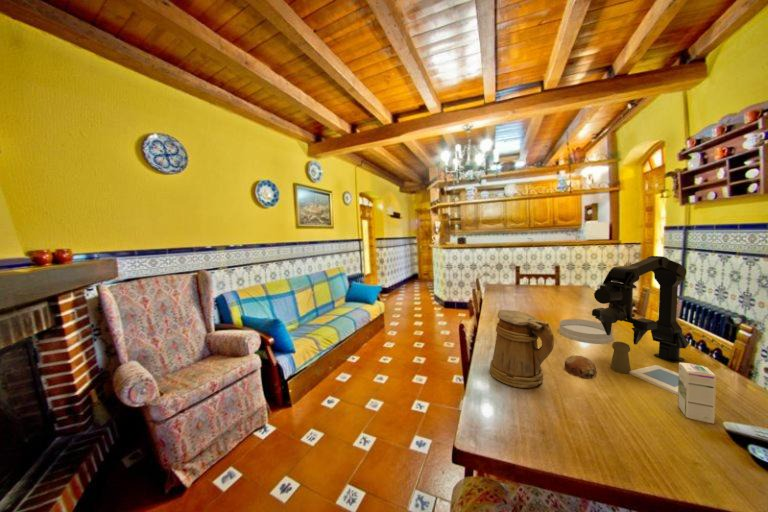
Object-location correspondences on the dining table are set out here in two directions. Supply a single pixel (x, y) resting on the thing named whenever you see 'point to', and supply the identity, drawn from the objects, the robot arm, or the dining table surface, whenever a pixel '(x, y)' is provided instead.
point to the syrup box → (696, 392)
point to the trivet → (658, 377)
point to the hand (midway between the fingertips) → (621, 339)
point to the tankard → (520, 349)
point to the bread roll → (580, 366)
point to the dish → (585, 331)
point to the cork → (620, 358)
